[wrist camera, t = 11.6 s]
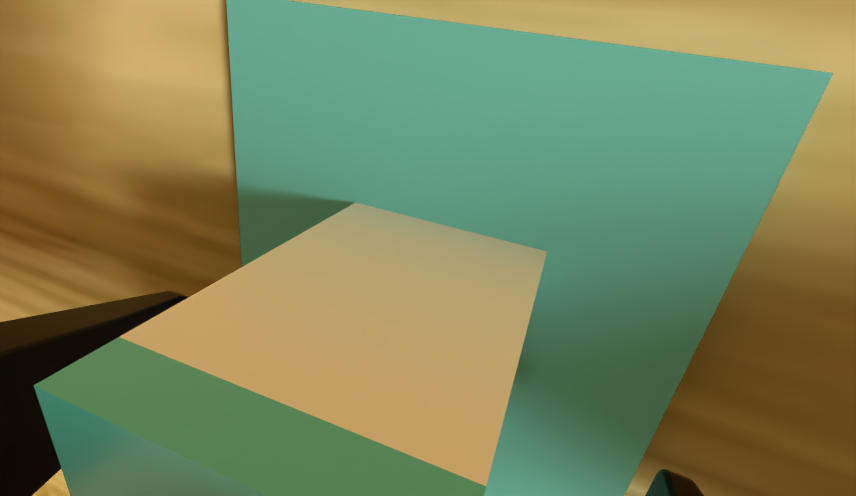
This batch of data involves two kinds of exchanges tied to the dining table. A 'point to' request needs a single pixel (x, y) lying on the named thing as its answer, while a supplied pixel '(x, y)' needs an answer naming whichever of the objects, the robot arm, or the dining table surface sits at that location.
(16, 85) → the dining table surface
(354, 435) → the fuse block
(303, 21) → the mat
